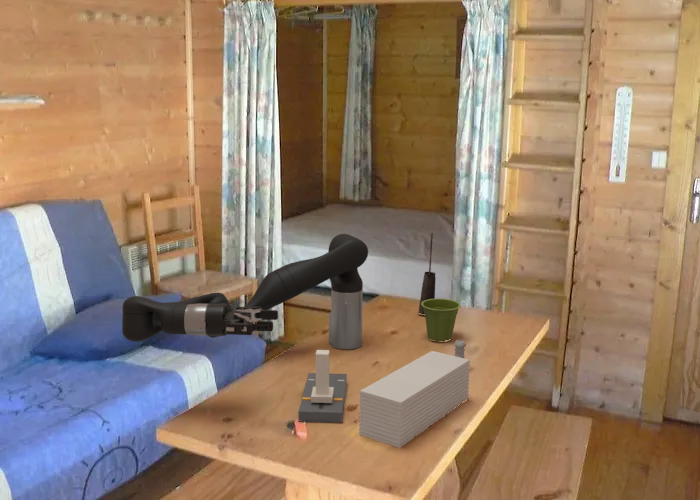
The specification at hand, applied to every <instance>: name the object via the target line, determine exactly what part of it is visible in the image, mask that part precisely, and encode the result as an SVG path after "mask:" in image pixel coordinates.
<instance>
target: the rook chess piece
mask: <svg viewBox="0 0 700 500" xmlns="http://www.w3.org/2000/svg"><path fill="white" fill-rule="evenodd" d="M453 346H454V347H455V348H454V356H456V357H460V358H464V359H466V358H465V351H466V350H465V347H466V346H467V344H466V343H465V340H463V339H459V340H458V339H456V340H455V341H454V343H453Z"/></svg>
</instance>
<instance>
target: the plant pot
mask: <svg viewBox="0 0 700 500" xmlns="http://www.w3.org/2000/svg"><path fill="white" fill-rule="evenodd" d="M421 305H422V306H423V309H424V313H425V316H424V320H425V326H426V334H427V339H428V338H429V339H431V340H436V341H435V342H438V341H445V340H449V339H451V338H452V337H453V334H454V328H455V325H456V324H455V323H456V319H457V316H458V313H459V309H460V308H461V307H462V306H461V303H460V302H458V301H456V300H453V299H448V298H435V299H428V300H425V301H423V302H422V303H421ZM429 339H428V340H429ZM431 340H430V341H431ZM451 340H452V339H451Z"/></svg>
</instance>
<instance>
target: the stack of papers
mask: <svg viewBox="0 0 700 500" xmlns="http://www.w3.org/2000/svg"><path fill="white" fill-rule="evenodd" d="M464 358H465V357H464ZM464 358H460V357H456V356H455V355H451V354H446V353H442V352H438V351H433V350H431V351H429V352H427V353H425V354H423V355H422V356H420V357H418V358H417V359H414V360H413V361H411V362H409V363H408V364H406V365H403V366H402V367H400V368H398V369H396V370H395V371H393V372H391V373H389V374H387V375H385V376H384V377H382V378H381V379H379V380H377V381H374V382H373V383H372V384H369V385H368V386H366V387H364V388H362V389H360V390H359V416H358V417H359V418H358V419H359V429H358V431H359V432H358V435H359V436H362V437H365V438H368V439H371V440H374V441H378V442H379V443H380V442H381V443H384V444H386V445H390V446H393V447H396V448H399V449H401V448H402V447H404V446H405V445H406V444H408V443H409V442H410V441H412V440H413V439H414V437H415V436H416V437H417V435H418V434H419V435H421V434H422V433H423V432H425V431H426V430H427V429H428V427H429V426H430V425H432V424H433V423H435V422H436V421H437V420H439V419H440V418H441V417H443V416H444V415H446V414H447V413H448V412H450V411H451V410H453V409H454V408H455V407H457V406H458V405H459V404H461V403H462V402H463V401H465V400H466V399H467V398H468V399H469V388H470V387H469V384H470V363H471V362H470V361H471V360H470V359H468V358H465V359H464ZM461 405H462V404H461ZM457 408H458V407H457ZM454 410H455V409H454ZM454 410H453V411H454ZM451 412H452V411H451ZM451 412H450V413H451ZM447 415H448V414H447ZM447 415H446V416H447ZM444 417H445V416H444ZM444 417H443V418H444ZM440 420H441V419H440ZM440 420H439V421H440ZM437 422H438V421H437ZM437 422H436V423H437ZM436 423H435V424H436ZM433 425H434V424H433ZM433 425H432V426H433ZM430 427H431V426H430ZM430 427H429V428H430ZM425 429H426V430H425ZM424 430H425V431H424ZM422 431H423V432H422ZM421 432H422V433H421ZM419 435H418V436H419ZM416 437H415V438H416Z"/></svg>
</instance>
